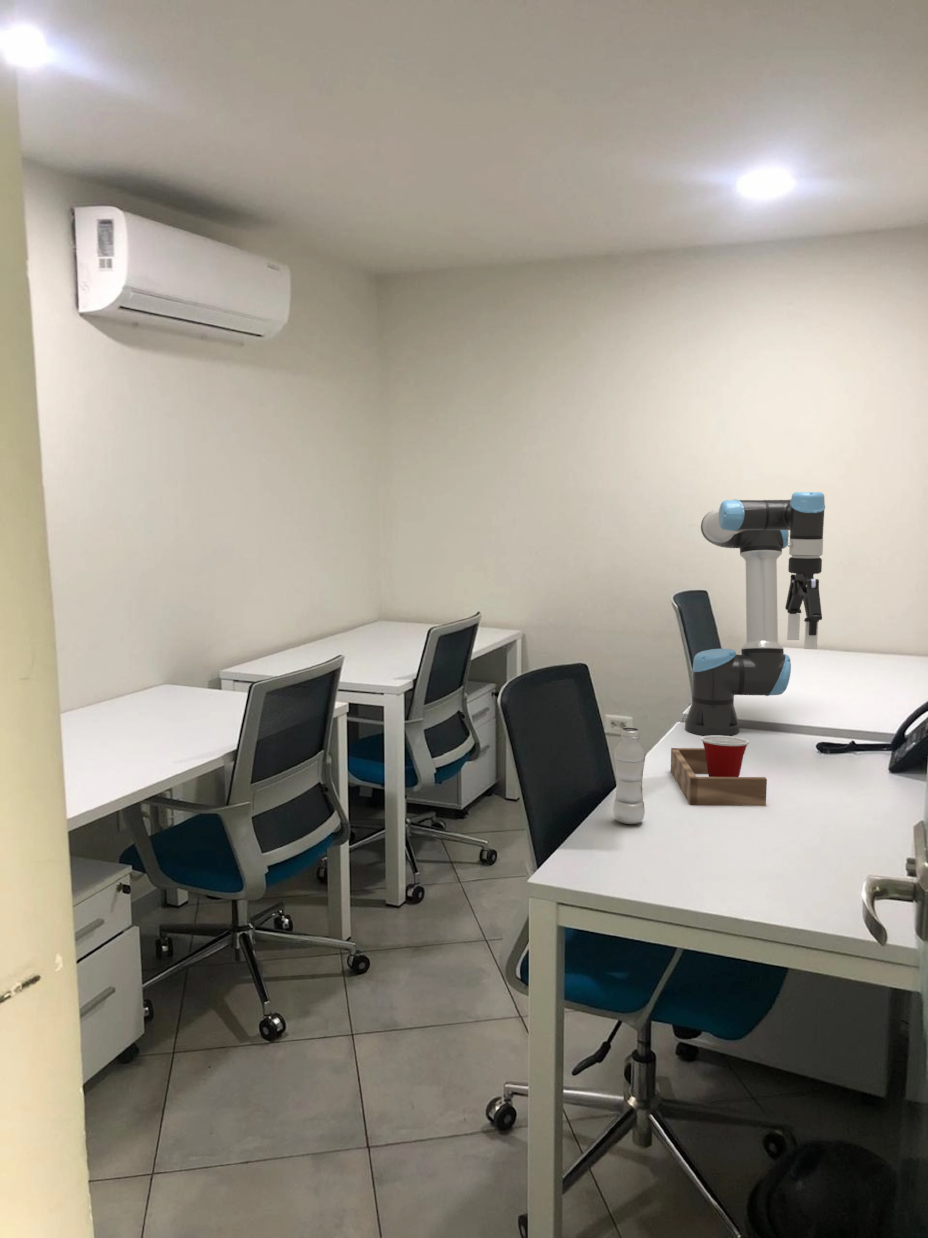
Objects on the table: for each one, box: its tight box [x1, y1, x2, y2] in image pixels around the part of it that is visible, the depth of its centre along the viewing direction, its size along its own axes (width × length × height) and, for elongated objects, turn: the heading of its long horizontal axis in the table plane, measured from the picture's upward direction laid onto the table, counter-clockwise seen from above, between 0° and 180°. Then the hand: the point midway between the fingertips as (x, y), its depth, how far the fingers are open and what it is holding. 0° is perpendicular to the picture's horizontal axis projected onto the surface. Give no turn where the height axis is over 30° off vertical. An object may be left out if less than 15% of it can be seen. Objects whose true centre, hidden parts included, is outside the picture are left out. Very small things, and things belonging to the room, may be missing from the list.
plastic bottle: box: [612, 726, 646, 825], centre depth 198 cm, size 6×7×20 cm
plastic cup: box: [700, 735, 750, 777], centre depth 221 cm, size 11×11×12 cm
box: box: [670, 747, 768, 807], centre depth 221 cm, size 25×16×6 cm, turn 178°
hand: (801, 644), depth 230 cm, fingers open, 13 cm apart
